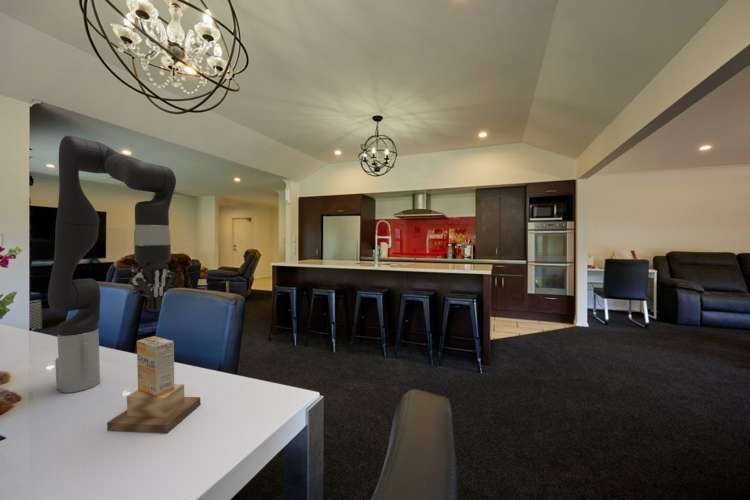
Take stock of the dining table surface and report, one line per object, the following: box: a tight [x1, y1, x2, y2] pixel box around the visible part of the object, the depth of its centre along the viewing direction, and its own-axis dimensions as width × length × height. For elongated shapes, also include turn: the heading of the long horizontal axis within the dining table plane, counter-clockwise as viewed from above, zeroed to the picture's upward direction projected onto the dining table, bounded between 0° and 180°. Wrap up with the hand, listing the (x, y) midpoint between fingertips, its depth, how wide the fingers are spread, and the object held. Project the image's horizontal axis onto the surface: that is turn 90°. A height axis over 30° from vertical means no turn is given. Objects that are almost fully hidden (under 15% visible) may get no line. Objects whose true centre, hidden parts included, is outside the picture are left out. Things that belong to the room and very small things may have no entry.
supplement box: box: [136, 335, 175, 397], centre depth 81 cm, size 8×5×13 cm, turn 65°
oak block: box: [126, 383, 185, 418], centre depth 82 cm, size 10×7×5 cm
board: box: [106, 396, 201, 434], centre depth 82 cm, size 15×13×2 cm
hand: (154, 311), depth 81 cm, fingers closed
